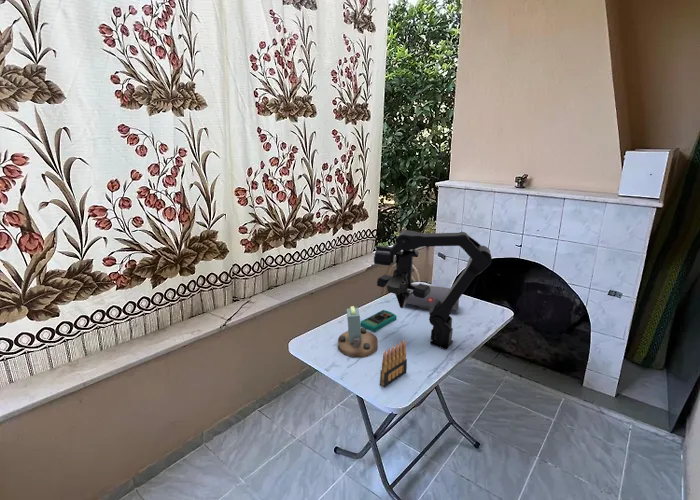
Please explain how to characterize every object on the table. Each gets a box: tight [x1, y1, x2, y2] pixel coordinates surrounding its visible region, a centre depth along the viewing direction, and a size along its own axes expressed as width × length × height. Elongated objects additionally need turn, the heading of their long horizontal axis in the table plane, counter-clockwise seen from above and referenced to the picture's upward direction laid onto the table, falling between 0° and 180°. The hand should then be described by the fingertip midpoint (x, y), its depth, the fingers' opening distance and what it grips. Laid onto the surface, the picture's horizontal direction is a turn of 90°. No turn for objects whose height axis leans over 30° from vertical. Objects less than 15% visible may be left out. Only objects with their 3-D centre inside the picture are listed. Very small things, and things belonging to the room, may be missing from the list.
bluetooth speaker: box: [405, 283, 460, 311], centre depth 161 cm, size 23×9×10 cm, turn 73°
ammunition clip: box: [379, 339, 408, 389], centre depth 115 cm, size 11×2×12 cm, turn 134°
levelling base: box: [337, 327, 379, 359], centre depth 133 cm, size 14×14×6 cm
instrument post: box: [346, 305, 362, 343], centre depth 131 cm, size 4×6×11 cm, turn 4°
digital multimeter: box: [360, 309, 398, 333], centre depth 150 cm, size 7×15×3 cm, turn 137°
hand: (401, 307), depth 136 cm, fingers closed
